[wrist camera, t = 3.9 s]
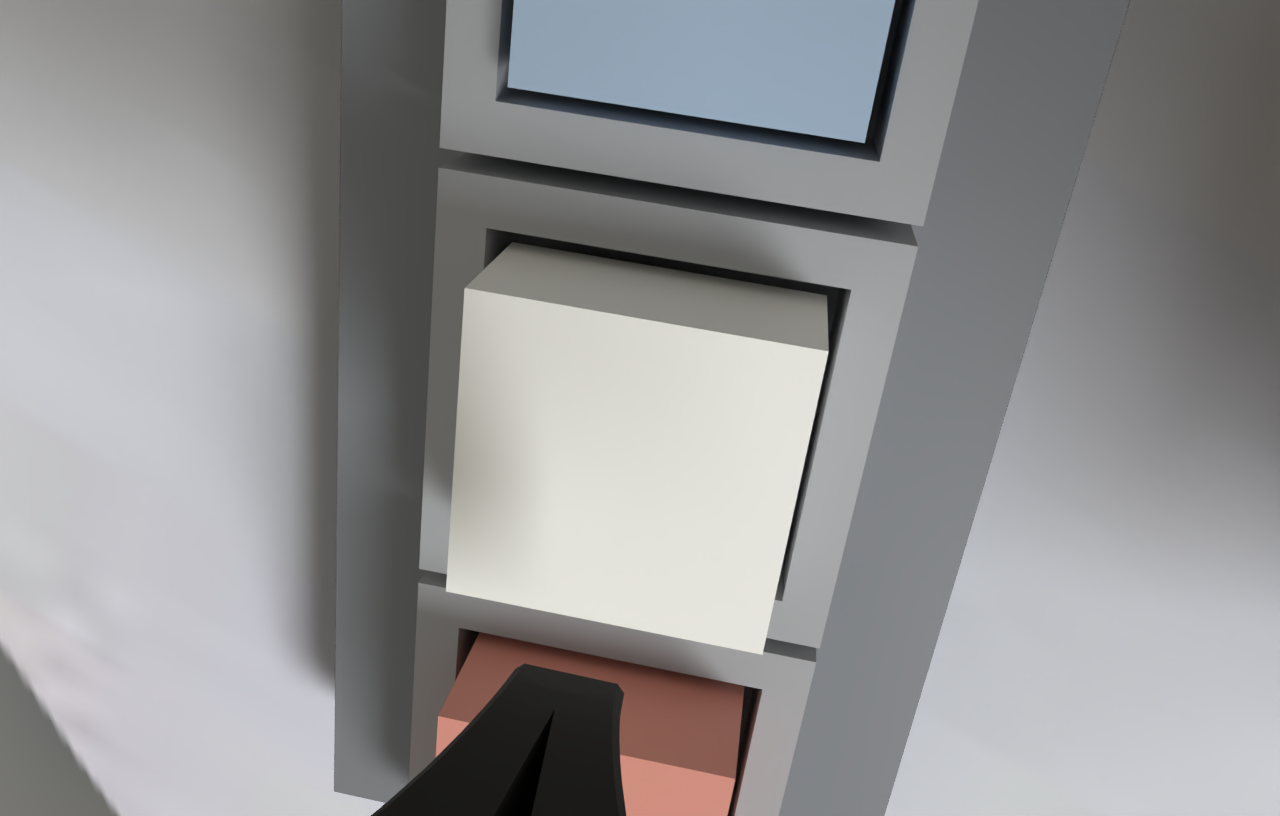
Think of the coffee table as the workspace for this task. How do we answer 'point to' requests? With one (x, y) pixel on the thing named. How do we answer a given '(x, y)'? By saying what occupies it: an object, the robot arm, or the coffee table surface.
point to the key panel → (722, 247)
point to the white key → (631, 442)
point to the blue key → (710, 58)
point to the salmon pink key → (627, 723)
